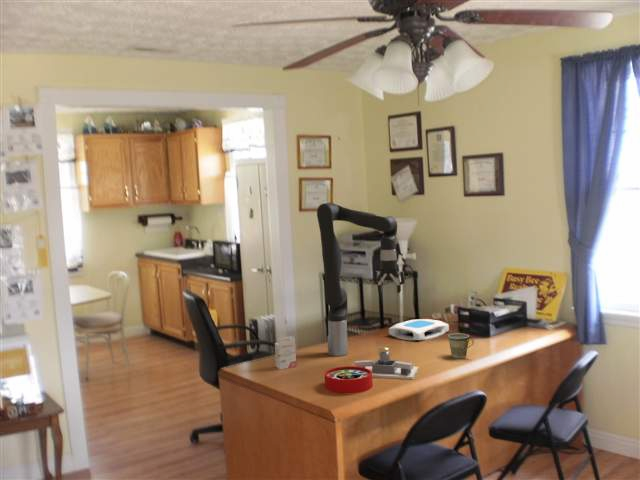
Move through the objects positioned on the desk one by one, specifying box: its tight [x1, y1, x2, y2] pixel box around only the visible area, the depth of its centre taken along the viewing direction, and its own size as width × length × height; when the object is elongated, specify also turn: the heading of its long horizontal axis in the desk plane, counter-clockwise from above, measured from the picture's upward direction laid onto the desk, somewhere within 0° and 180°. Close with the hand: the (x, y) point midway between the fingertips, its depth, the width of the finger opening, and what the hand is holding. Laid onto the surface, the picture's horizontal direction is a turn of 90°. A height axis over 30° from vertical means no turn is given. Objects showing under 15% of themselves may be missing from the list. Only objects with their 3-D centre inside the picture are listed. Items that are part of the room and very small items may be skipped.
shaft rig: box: [354, 358, 419, 380], centre depth 294 cm, size 27×16×6 cm, turn 73°
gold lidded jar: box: [378, 346, 391, 365], centre depth 294 cm, size 4×4×10 cm
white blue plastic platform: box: [388, 318, 450, 342], centre depth 364 cm, size 21×28×6 cm
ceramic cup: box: [447, 333, 474, 359], centre depth 316 cm, size 13×10×10 cm
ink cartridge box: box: [274, 335, 297, 370], centre depth 309 cm, size 9×5×15 cm, turn 118°
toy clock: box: [324, 365, 374, 395], centre depth 277 cm, size 20×6×20 cm
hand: (389, 292), depth 313 cm, fingers open, 8 cm apart
